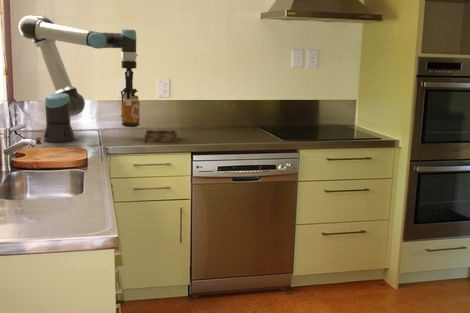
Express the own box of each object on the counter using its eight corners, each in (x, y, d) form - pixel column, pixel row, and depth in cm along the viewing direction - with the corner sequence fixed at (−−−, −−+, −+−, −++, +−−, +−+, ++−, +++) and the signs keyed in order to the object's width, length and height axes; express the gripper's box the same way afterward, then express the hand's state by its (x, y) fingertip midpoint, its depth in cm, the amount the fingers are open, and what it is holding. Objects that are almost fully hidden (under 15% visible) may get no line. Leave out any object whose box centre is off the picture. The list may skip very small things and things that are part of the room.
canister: (130, 128, 279) (130, 88, 275) (115, 125, 286) (115, 87, 282) (143, 126, 286) (143, 88, 282) (128, 124, 293) (128, 86, 289)
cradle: (145, 142, 277) (145, 134, 276) (146, 137, 291) (146, 130, 290) (176, 142, 279) (176, 134, 278) (176, 137, 293) (176, 130, 292)
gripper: (134, 61, 268) (135, 107, 273) (137, 59, 289) (138, 101, 294) (119, 61, 267) (120, 106, 272) (123, 59, 288) (123, 101, 293)
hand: (129, 104), depth 283 cm, fingers closed on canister, 9 cm apart
